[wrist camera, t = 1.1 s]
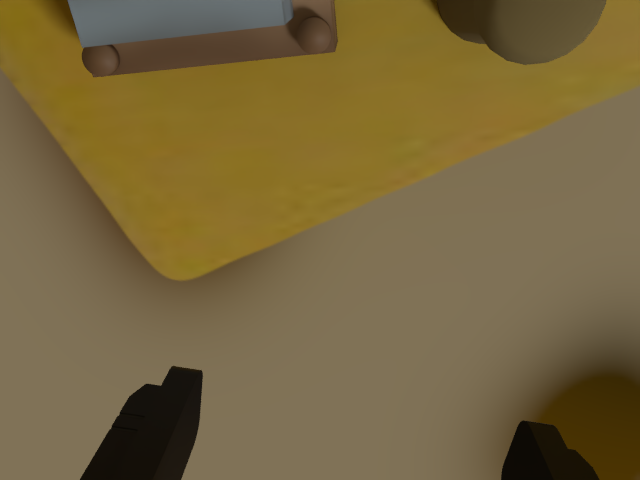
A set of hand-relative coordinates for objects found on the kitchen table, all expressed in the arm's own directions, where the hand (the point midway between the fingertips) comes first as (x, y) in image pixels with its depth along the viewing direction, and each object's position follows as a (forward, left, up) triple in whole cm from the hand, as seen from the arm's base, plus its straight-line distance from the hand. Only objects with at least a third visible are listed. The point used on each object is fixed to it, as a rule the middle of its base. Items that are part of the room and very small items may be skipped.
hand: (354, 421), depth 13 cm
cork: (-8, +8, -25) cm, 27 cm away
